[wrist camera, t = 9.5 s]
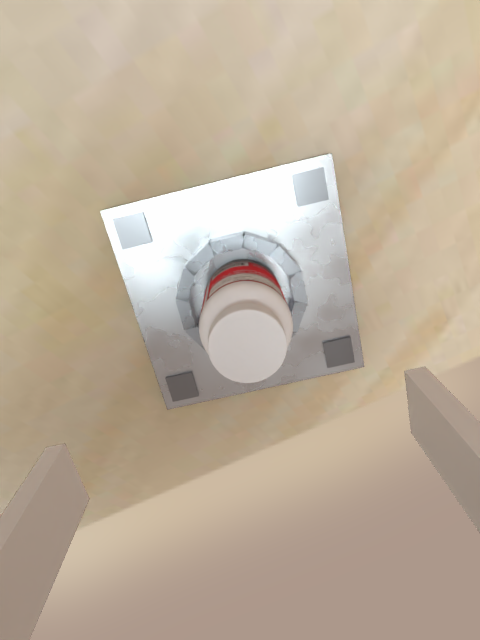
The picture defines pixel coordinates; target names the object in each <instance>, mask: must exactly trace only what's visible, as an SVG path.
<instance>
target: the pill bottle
mask: <svg viewBox="0 0 480 640" xmlns="http://www.w3.org/2000/svg"><path fill="white" fill-rule="evenodd" d="M292 333H293V321H292V316H291V312H290V309H289V307H288V304H287V302H286V300H285V297H284V295H283V292H282V290H281V288H280V285H279V283H278V281H277V279H276V278H275V276H274V275H273V273H272V272H271V271H270V270H269V269H268V268H267V267H265V266H264V265H262V264H260V263H258V262H255V261H252V260H235V261H231V262H228V263H226V264H224V265H223V266H221V267H220V268H219V269H217V270H216V271H215V272H214V274H213V275H212V276H211V278H210V280H209V282H208V284H207V287H206V290H205V296H204V301H203V305H202V310H201V314H200V320H199V334H200V339H201V342H202V345H203V347H204V349H205V350H206V352H207V353H208V355H209V358H210V360H211V362H212V364H213V366H214V367H215V368H216V370H217V371H218V372H219V373H220V374H222V375H223V376H224V377H226V378H228V379H230V380H232V381H235V382H240V383H254V382H259V381H262V380H264V379H266V378H268V377H270V376H271V375H272V374H274V373H275V372H276V371H277V370H278V369H279V368H280V366H281V365H282V363H283V361H284V359H285V356H286V352H287V348H288V346H289V343H290V341H291V337H292Z"/></svg>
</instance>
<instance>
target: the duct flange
mask: <svg viewBox="0 0 480 640" xmlns="http://www.w3.org/2000/svg"><path fill="white" fill-rule="evenodd" d="M100 212H101V215H102V218H103V221H104V224H105V227H106V230H107V233H108V236H109V239H110V242H111V245H112V248H113V251H114V254H115V256H116V259H117V262H118V265H119V268H120V271H121V274H122V277H123V280H124V283H125V286H126V289H127V292H128V295H129V298H130V301H131V304H132V307H133V310H134V313H135V316H136V318H137V321H138V324H139V327H140V330H141V333H142V336H143V339H144V342H145V345H146V348H147V351H148V354H149V357H150V360H151V363H152V366H153V369H154V372H155V375H156V377H157V380H158V383H159V386H160V389H161V392H162V395H163V398H164V401H165V404H166V407H167V410H168V409H173V408H177V407H182V406H186V405H191V404H196V403H200V402H205V401H209V400H214V399H219V398H223V397H228V396H233V395H237V394H242V393H246V392H251V391H256V390H260V389H265V388H269V387H274V386H279V385H283V384H288V383H292V382H297V381H302V380H306V379H311V378H315V377H320V376H325V375H329V374H334V373H338V372H343V371H348V370H352V369H357V368H361V367H364V362H363V355H362V349H361V342H360V336H359V329H358V322H357V316H356V309H355V303H354V296H353V290H352V283H351V276H350V270H349V263H348V257H347V250H346V243H345V237H344V230H343V224H342V217H341V211H340V204H339V197H338V191H337V184H336V178H335V171H334V164H333V158H332V153H329V154H325V155H321V156H317V157H313V158H309V159H305V160H301V161H297V162H293V163H289V164H285V165H281V166H277V167H273V168H269V169H265V170H261V171H257V172H253V173H249V174H245V175H241V176H237V177H233V178H229V179H225V180H221V181H217V182H213V183H209V184H205V185H201V186H197V187H193V188H189V189H185V190H181V191H177V192H173V193H169V194H165V195H161V196H157V197H153V198H149V199H145V200H141V201H137V202H133V203H129V204H125V205H121V206H117V207H113V208H109V209H105V210H102V211H100ZM235 260H252V261H255V262H258V263H260V264H262V265H264V266H265V267H267V268H268V269H269V270H270V271H271V272H272V273H273V275H274V276H275V278H276V279H277V281H278V283H279V285H280V288H281V290H282V292H283V295H284V297H285V300H286V302H287V304H288V307H289V309H290V312H291V316H292V321H293V333H292V337H291V341H290V343H289V346H288V348H287V352H286V356H285V359H284V361H283V363H282V365H281V366H280V368H279V369H278V370H277V371H276V372H275V373H274V374H272V375H271V376H270V377H268V378H266V379H264V380H262V381H259V382H254V383H240V382H235V381H232V380H230V379H228V378H226V377H224V376H223V375H222V374H220V373H219V372H218V371H217V370H216V368H215V367H214V366H213V364H212V362H211V360H210V358H209V355H208V353H207V352H206V350H205V349H204V347H203V345H202V342H201V339H200V334H199V320H200V314H201V310H202V305H203V301H204V296H205V290H206V287H207V284H208V282H209V280H210V278H211V276H212V275H213V274H214V272H215V271H216V270H217V269H219V268H220V267H221V266H223V265H224V264H226V263H228V262H231V261H235Z"/></svg>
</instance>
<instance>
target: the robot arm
mask: <svg viewBox="0 0 480 640" xmlns="http://www.w3.org/2000/svg"><path fill="white" fill-rule="evenodd" d="M404 373H405V382H406V391H407V399H408V409H409V418H410V427H411V433H412V435H413V436H414V438H415V439H416V441H417V442H418V444H419V445H420V446H421V448H422V449H423V451H424V452H425V454H426V455H427V457H428V458H429V459H430V461H431V462H432V464H433V465H434V467H435V468H436V470H437V471H438V473H439V474H440V476H441V477H442V479H443V480H444V482H445V483H446V484H447V485H448V487H449V489H450V490H451V492H452V493H453V495H454V496H455V497H456V499H457V500H458V502H459V503H460V505H461V506H462V508H463V509H464V511H465V512H466V514H467V515H468V517H469V518H470V519H471V521H472V522H473V524H474V525H475V527H476V528H477V530H478V531H479V533H480V422H479V421H478V420H477V419H476V418H475V416H474V415H472V414H471V413H470V411H468V409H467V408H466V407H465V406H464V405H463V404H462V403H461V402H460V401H459V400H458V399H457V398H456V397H455V396H454V395H453V394H452V393H451V392H450V391H449V390H448V389H447V388H446V387H445V386H444V385H443V384H442V383H441V382H440V381H439V380H438V379H437V378H436V377H435V376H434V375H433V374H432V373H431V372H430V371H429V370H428V369H427V368H426V367H425V366H424V367H420V368H415V369H410V370H406V371H404ZM88 501H89V497H88V494H87V492H86V490H85V487H84V485H83V483H82V481H81V478H80V476H79V474H78V472H77V469H76V467H75V465H74V462H73V460H72V458H71V456H70V453H69V451H68V449H67V447H66V444H65V443H64V444H59V445H55V446H50V447H46V448H45V450H44V451H43V453H42V454H41V456H40V457H39V459H38V460H37V462H36V463H35V465H34V466H33V468H32V469H31V471H30V473H29V474H28V476H27V477H26V479H25V480H24V482H23V483H22V485H21V486H20V488H19V489H18V491H17V492H16V494H15V495H14V497H13V498H12V500H11V501H10V503H9V504H8V506H7V507H6V509H5V510H4V512H3V513H2V515H1V516H0V640H30V637H31V635H32V632H33V630H34V628H35V625H36V623H37V621H38V619H39V616H40V614H41V612H42V609H43V607H44V605H45V602H46V600H47V597H48V595H49V593H50V590H51V588H52V586H53V583H54V581H55V579H56V576H57V574H58V572H59V569H60V567H61V565H62V562H63V560H64V558H65V555H66V553H67V551H68V548H69V546H70V544H71V541H72V539H73V537H74V534H75V532H76V529H77V527H78V525H79V522H80V520H81V518H82V515H83V513H84V511H85V508H86V506H87V504H88Z"/></svg>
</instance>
